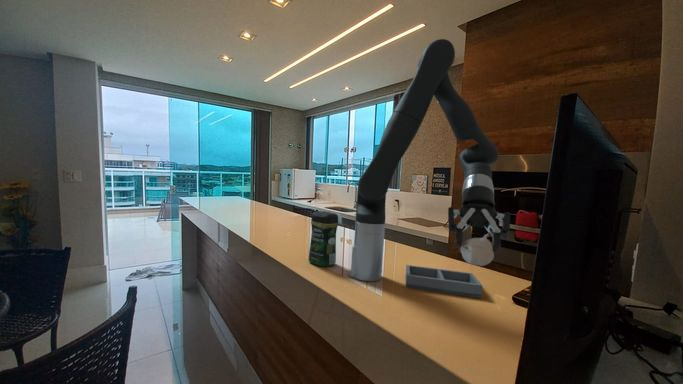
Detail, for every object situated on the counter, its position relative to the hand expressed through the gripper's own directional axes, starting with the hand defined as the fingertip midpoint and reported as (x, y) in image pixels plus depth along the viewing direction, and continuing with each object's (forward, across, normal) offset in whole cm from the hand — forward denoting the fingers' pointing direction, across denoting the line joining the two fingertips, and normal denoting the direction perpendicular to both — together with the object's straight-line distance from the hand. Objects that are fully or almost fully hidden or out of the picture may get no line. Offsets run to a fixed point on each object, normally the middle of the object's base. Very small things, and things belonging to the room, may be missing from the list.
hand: (477, 247), depth 60 cm
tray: (-1, -8, +24) cm, 25 cm away
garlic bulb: (+2, 0, +4) cm, 5 cm away
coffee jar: (0, -47, +23) cm, 53 cm away
